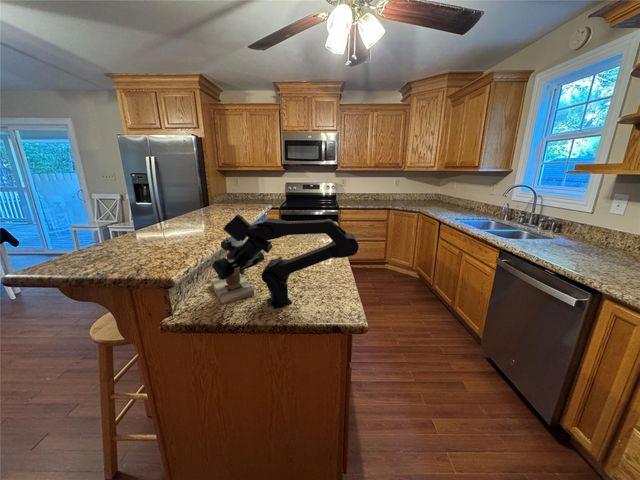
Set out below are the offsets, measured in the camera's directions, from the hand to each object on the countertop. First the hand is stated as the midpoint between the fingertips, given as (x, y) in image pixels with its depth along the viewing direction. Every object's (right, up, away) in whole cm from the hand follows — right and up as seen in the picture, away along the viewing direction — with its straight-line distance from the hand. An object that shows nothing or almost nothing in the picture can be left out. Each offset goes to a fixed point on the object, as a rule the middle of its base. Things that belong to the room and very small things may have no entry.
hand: (229, 273), depth 88 cm
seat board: (0, -6, +3) cm, 7 cm away
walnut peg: (+1, -7, +1) cm, 7 cm away
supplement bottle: (-4, -2, +19) cm, 19 cm away
